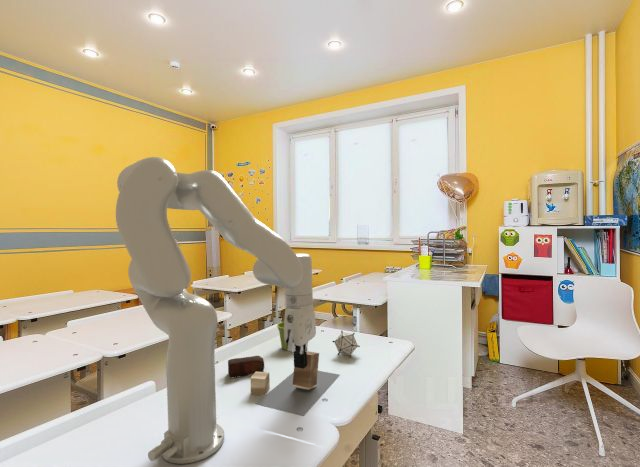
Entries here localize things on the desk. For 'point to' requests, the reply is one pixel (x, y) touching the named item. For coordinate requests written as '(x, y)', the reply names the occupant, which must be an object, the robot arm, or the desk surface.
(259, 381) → the beech block
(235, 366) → the brick
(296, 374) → the walnut block
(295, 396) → the mat
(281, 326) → the plant pot
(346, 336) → the spiked icosahedron
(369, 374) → the desk surface
